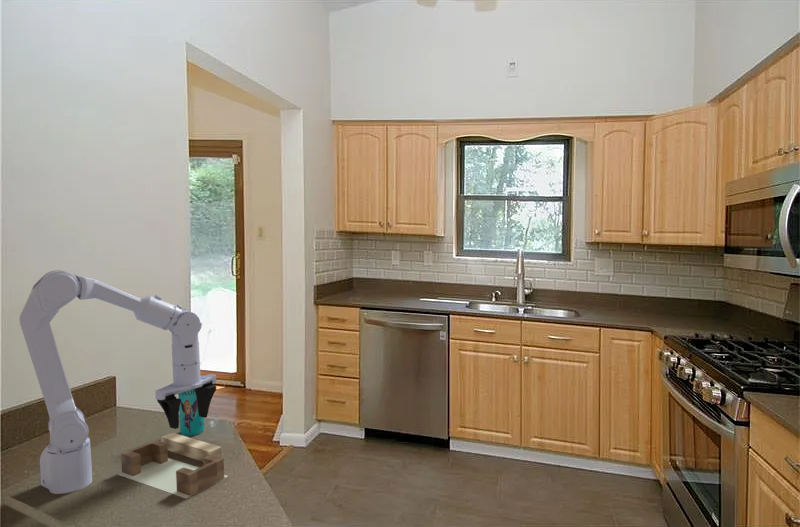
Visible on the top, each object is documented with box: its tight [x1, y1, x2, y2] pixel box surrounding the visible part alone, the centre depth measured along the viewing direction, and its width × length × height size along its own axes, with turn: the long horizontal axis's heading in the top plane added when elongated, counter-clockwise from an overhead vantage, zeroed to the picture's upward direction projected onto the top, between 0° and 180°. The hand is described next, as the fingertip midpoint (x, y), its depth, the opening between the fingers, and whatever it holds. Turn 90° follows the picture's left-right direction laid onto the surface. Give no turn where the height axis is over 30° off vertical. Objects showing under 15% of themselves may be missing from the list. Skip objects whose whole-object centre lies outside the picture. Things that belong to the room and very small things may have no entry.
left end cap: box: [120, 439, 169, 476], centre depth 108 cm, size 4×8×4 cm, turn 150°
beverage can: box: [177, 389, 205, 437], centre depth 127 cm, size 6×6×15 cm
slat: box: [160, 432, 223, 463], centre depth 114 cm, size 18×3×4 cm, turn 58°
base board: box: [116, 457, 229, 499], centre depth 103 cm, size 22×10×1 cm, turn 60°
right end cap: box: [176, 455, 225, 497], centre depth 99 cm, size 4×8×4 cm, turn 150°
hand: (189, 422), depth 114 cm, fingers open, 7 cm apart
